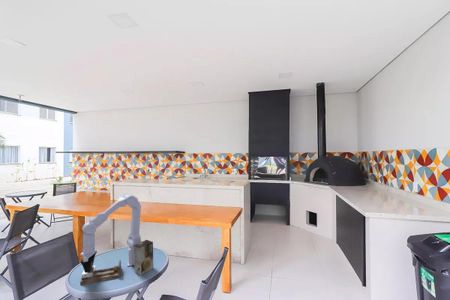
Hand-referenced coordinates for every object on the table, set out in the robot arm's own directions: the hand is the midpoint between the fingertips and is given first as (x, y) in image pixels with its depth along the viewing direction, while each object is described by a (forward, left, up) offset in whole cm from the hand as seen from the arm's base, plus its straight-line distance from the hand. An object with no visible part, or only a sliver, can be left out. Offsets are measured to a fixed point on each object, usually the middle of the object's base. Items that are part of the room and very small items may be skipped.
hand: (89, 268), depth 120 cm
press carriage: (0, 0, -3) cm, 3 cm away
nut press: (-6, 0, -5) cm, 8 cm away
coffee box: (-29, +2, -6) cm, 30 cm away
